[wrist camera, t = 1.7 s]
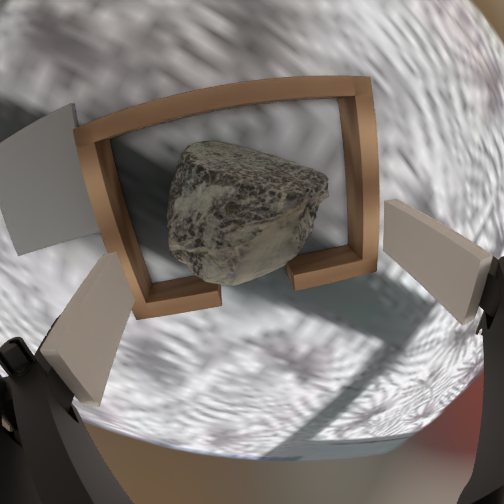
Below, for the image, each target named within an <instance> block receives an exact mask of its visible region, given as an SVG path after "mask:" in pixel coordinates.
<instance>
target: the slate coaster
mask: <svg viewBox="0 0 504 504" xmlns="http://www.w3.org/2000/svg"><path fill="white" fill-rule="evenodd" d="M77 127H78V122H77V117H76V111H75V105H74V104H73V103H71V104H68V105H66V106H64V107H62V108H60V109H58V110H56V111H54V112H52V113H50V114H48V115H46V116H44V117H42V118H41V119H39V120H37V121H35V122H33V123H32V124H30V125H28V126H26V127H25V128H23V129H21V130H20V131H18V132H16V133H15V134H13V135H12V136H10V137H8V138H7V139H5V140H4V141H2V142H1V143H0V208H1V211H2V214H3V217H4V220H5V223H6V226H7V229H8V232H9V234H10V237H11V240H12V242H13V245H14V247H15V250H16V252H17V255H18V256H20V255H23V254H26V253H30V252H33V251H36V250H39V249H42V248H46V247H49V246H52V245H55V244H59V243H62V242H66V241H69V240H72V239H76V238H80V237H83V236H87V235H90V234H94V233H98V232H100V230H99V227H98V224H97V221H96V218H95V215H94V212H93V208H92V205H91V202H90V199H89V195H88V192H87V188H86V185H85V181H84V177H83V174H82V170H81V166H80V162H79V157H78V153H77V149H76V144H75V139H74V135H73V130H72V129H74V128H77Z"/></svg>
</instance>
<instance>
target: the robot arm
mask: <svg viewBox="0 0 504 504" xmlns="http://www.w3.org/2000/svg"><path fill="white" fill-rule="evenodd" d="M383 251H384V252H385V253H386V254H387V255H389V256H390V257H391V258H392V259H393V260H394V261H395V262H397V263H398V264H399V265H400V266H401V267H402V268H403V269H404V270H405V271H407V272H408V273H409V274H410V275H411V276H412V277H413V278H414V279H415V280H416V281H417V282H419V283H420V284H421V285H422V286H423V287H424V288H425V289H426V290H427V291H428V292H429V293H430V294H431V295H432V296H433V297H434V298H435V299H436V300H437V301H438V302H439V303H440V304H441V305H442V306H443V307H444V308H445V309H446V310H447V311H448V312H449V313H450V314H451V315H452V316H453V317H454V318H455V319H456V320H457V321H458V322H459V323H460V324H461V325H464V324H466V323H468V322H470V321H472V320H474V319H475V316H476V313H477V310H478V307H479V306H480V307H481V308H482V309H483V310H484V311H483V314H482V317H481V320H480V322H479V325H478V327H477V330H476V334H477V335H478V333H479V330H480V329H481V328H482V333H481V335H483V350H484V392H483V408H482V419H481V428H480V435H479V442H478V448H477V454H476V459H475V464H474V469H473V473H472V476H471V478H470V480H469V482H468V483H467V485H466V486H465V488H464V489H463V491H462V493H461V495H460V497H459V499H458V502H457V504H504V256H503V257H501V258H500V259H499V260H498V259H497V258H495V257H494V256H493V255H492V254H490V253H489V252H487V251H486V250H484V249H483V248H481V247H480V246H478V245H476V244H475V243H473V242H472V241H470V240H469V239H467V238H465V237H464V236H462V235H461V234H459V233H457V232H456V231H454V230H452V229H451V228H449V227H447V226H445V225H444V224H442V223H440V222H438V221H437V220H435V219H433V218H431V217H430V216H428V215H426V214H424V213H422V212H420V211H419V210H417V209H415V208H413V207H411V206H409V205H407V204H405V203H403V202H401V201H399V200H397V199H393V200H386V201H384V239H383ZM134 302H135V298H134V296H133V293H132V291H131V289H130V286H129V284H128V281H127V279H126V276H125V274H124V271H123V268H122V266H121V263H120V260H119V258H118V255H117V252H113V253H109V254H105V255H103V256H102V257H101V258H100V260H99V261H98V262H97V264H96V265H95V266H94V268H93V269H92V270H91V272H90V273H89V274H88V276H87V277H86V279H85V280H84V281H83V283H82V284H81V286H80V287H79V288H78V290H77V291H76V293H75V294H74V296H73V297H72V299H71V300H70V302H69V303H68V305H67V306H66V308H65V309H64V311H63V312H62V314H61V315H60V316H59V317H58V318H57V319H56V320H55V322H54V323H53V325H52V326H51V329H50V330H49V331H48V333H47V336H45V338H44V339H43V341H42V343H41V344H40V346H39V348H38V350H37V351H36V353H35V355H33V354H32V352H31V351H30V349H29V348H28V346H27V345H26V343H25V342H24V340H23V339H22V338H21V337H14V338H12V339H10V340H8V341H7V342H6V343H4V344H3V345H2V346H1V348H0V365H1V366H2V368H3V369H4V370H5V371H6V373H7V374H8V375H9V376H7V377H4V378H2V376H1V375H0V504H134V503H133V502H132V500H130V498H129V496H128V495H127V494H126V492H125V491H124V490H123V488H122V487H121V485H120V484H119V483H118V481H117V480H116V478H115V477H114V475H113V474H112V472H111V470H110V469H109V467H108V466H107V464H106V463H105V461H104V459H103V458H102V456H101V454H100V453H99V451H98V449H97V447H96V446H95V444H94V442H93V440H92V438H91V437H90V435H89V433H88V431H87V429H86V427H85V425H84V423H83V421H82V419H81V417H80V415H79V413H78V411H77V409H76V408H75V406H74V405H73V404H72V400H73V397H74V396H75V397H76V398H77V399H78V400H79V402H80V403H81V404H82V405H83V406H100V404H101V400H102V397H103V393H104V390H105V386H106V383H107V380H108V376H109V373H110V370H111V367H112V364H113V361H114V358H115V355H116V352H117V349H118V346H119V343H120V340H121V337H122V334H123V331H124V329H125V326H126V323H127V321H128V318H129V315H130V313H131V310H132V307H133V305H134ZM2 419H3V420H4V421H5V422H6V423H7V424H8V425H9V426H10V432H9V431H8V430H7V429H6V428H4V427H3V426H2Z"/></svg>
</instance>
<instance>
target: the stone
mask: <svg viewBox="0 0 504 504" xmlns="http://www.w3.org/2000/svg"><path fill="white" fill-rule="evenodd" d="M327 182H328V178H327V177H326V175H324V174H322V173H320V172H317V171H315V170H313V169H311V168H307V167H302V166H300V165H298V164H296V163H295V162H291V161H287V160H283V159H280V158H278V157H276V156H271V155H268V154H264V153H260V152H257V151H255V150H251V149H248V148H244V147H241V146H238V145H232V144H227V143H220V142H209V141H203V142H201V143H194V144H191V145H189V146H188V147H187V148H186V149H185V150H184V152H183V153H182V154H181V158H180V160H179V162H178V165H177V170H176V175H175V176H174V178H173V180H172V183H171V187H170V191H169V201H168V211H167V229H168V238H169V242H168V243H169V247H170V255H171V256H172V257H175V258H176V260H178V261H180V262H182V263H185V264H187V266H188V268H189V269H190V271H191V272H193V273H194V275H196V276H198V277H200V278H202V279H203V280H204V281H206V282H211V283H218V284H221V285H239V284H241V283H244V282H246V281H250V280H252V279H254V278H257V277H260V276H263V275H265V274H267V273H270V272H272V271H274V270H276V269H278V268H280V267H282V266H284V265H286V264H287V263H288V262H289V261H290V260H291V259H294V258H295V257H296V256H297V255H298V253H299V252H300V250H301V249H302V247H303V245H304V242H305V241H306V238H307V237H308V235H309V234H310V233H312V229H313V223H314V219H315V218H316V211H317V210H318V206H319V204H320V203H321V202H322V200H323V199H325V198H327V197H328V196H329V193H328V183H327Z"/></svg>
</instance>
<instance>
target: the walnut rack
mask: <svg viewBox="0 0 504 504" xmlns="http://www.w3.org/2000/svg"><path fill="white" fill-rule="evenodd" d="M326 98H338V102H339V110H340V118H341V126H342V136H343V146H344V158H345V171H346V187H347V211H348V245H346V246H341V247H336V248H331V249H327V250H322V251H317V252H312V253H307V254H302V255H297V256H296V257H295V258H294V259H291V260H290V261H289V262H288V263H287V264H286V270H287V274H288V276H289V278H290V281H291V283H292V285H293V287H294V289H295V291H297V290H302V289H306V288H311V287H315V286H319V285H324V284H328V283H332V282H336V281H341V280H345V279H349V278H353V277H357V276H361V275H365V274H369V273H373V272H376V271H377V260H378V243H379V160H378V143H377V130H376V119H375V110H374V101H373V93H372V86H371V79H370V77H366V76H300V77H284V78H273V79H263V80H254V81H246V82H239V83H232V84H226V85H220V86H214V87H209V88H204V89H199V90H194V91H190V92H185V93H181V94H177V95H173V96H169V97H165V98H161V99H157V100H154V101H150V102H147V103H143V104H140V105H137V106H133V107H130V108H127V109H124V110H121V111H118V112H115V113H113V114H110V115H107V116H104V117H102V118H99V119H96V120H94V121H91V122H89V123H86V124H84V125H81V126H79V127H77V128H74V129H72V130H73V135H74V139H75V144H76V149H77V153H78V157H79V162H80V166H81V170H82V174H83V177H84V181H85V185H86V188H87V192H88V195H89V199H90V202H91V205H92V208H93V212H94V215H95V218H96V221H97V224H98V227H99V230H100V233H101V236H102V238H103V241H104V244H105V247H106V249H107V252H108V254H109V253H113V252H117V255H118V258H119V260H120V263H121V266H122V268H123V271H124V274H125V276H126V279H127V281H128V284H129V286H130V289H131V291H132V293H133V296H134V298H135V302H134V305H133V307H132V311H133V314H134V316H135V318H136V320H140V319H146V318H153V317H160V316H166V315H172V314H178V313H184V312H190V311H196V310H202V309H207V308H213V307H218V306H222V299H221V285H220V284H218V283H211V282H206V281H204V280H203V279H202V278H200V277H198V276H191V277H186V278H181V279H175V280H170V281H165V282H159V283H154V284H152V281H151V279H150V276H149V273H148V271H147V268H146V265H145V262H144V260H143V257H142V254H141V251H140V248H139V245H138V242H137V239H136V236H135V233H134V230H133V226H132V223H131V220H130V217H129V213H128V210H127V207H126V203H125V200H124V196H123V193H122V189H121V185H120V181H119V178H118V174H117V170H116V166H115V162H114V157H113V153H112V149H111V144H110V140H109V139H111V138H114V137H117V136H120V135H123V134H127V133H130V132H133V131H136V130H140V129H143V128H146V127H150V126H154V125H157V124H161V123H165V122H169V121H173V120H177V119H181V118H185V117H190V116H194V115H199V114H204V113H209V112H214V111H219V110H225V109H230V108H236V107H243V106H250V105H257V104H265V103H273V102H283V101H294V100H307V99H326Z"/></svg>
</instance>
